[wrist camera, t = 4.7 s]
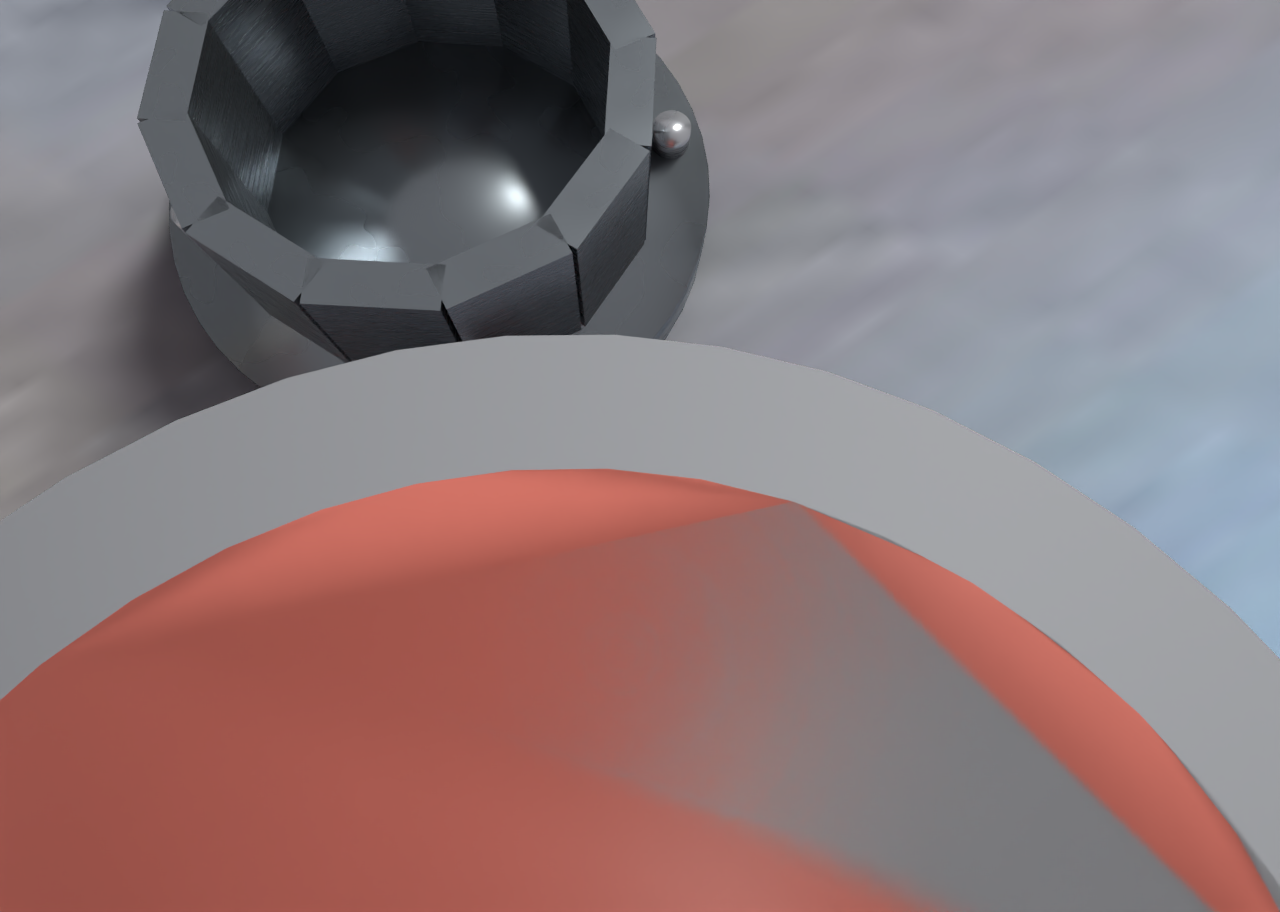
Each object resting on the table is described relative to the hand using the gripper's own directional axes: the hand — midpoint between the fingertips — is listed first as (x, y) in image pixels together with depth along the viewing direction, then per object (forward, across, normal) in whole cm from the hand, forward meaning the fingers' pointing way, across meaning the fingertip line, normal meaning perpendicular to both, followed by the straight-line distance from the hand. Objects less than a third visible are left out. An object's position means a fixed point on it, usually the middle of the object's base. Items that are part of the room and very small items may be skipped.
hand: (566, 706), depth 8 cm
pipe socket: (+12, 0, -3) cm, 13 cm away
